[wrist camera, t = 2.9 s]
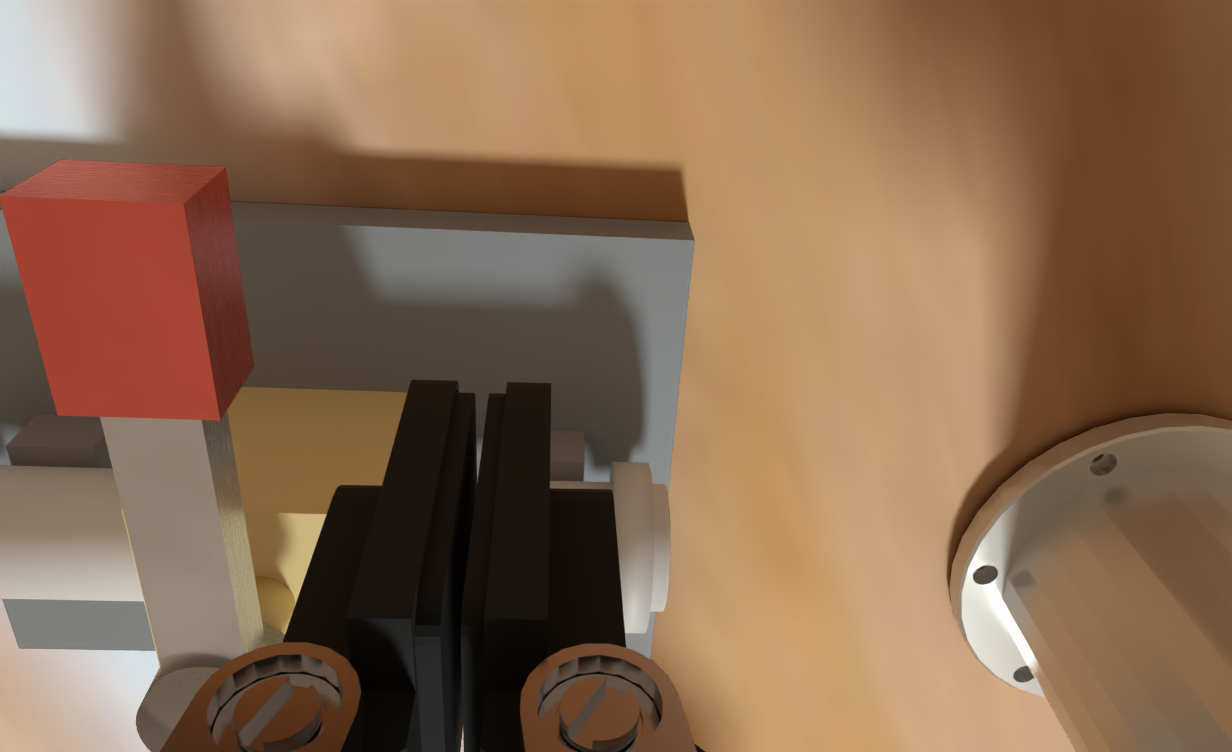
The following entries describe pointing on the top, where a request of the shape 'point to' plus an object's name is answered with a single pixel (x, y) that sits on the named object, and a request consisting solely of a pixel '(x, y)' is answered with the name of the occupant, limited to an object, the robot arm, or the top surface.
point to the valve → (366, 395)
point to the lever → (153, 389)
